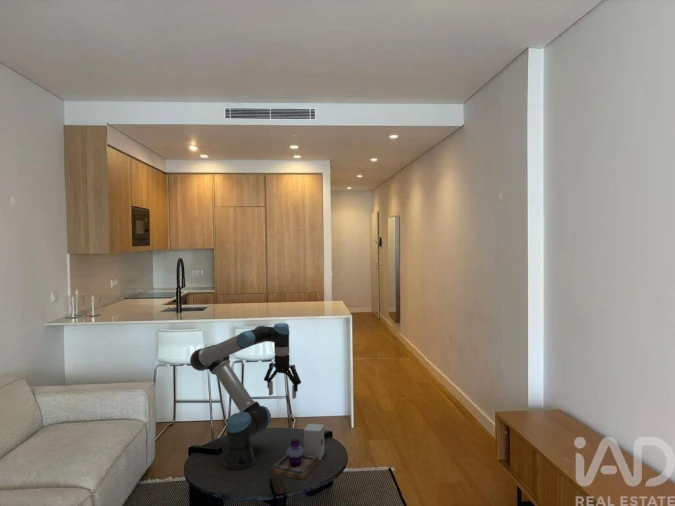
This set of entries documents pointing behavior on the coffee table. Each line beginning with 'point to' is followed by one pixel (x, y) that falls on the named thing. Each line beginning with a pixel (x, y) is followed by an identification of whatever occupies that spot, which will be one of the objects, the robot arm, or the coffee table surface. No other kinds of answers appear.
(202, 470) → the coffee table surface
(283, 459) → the jig plate
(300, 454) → the potion bottle
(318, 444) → the supplement box
